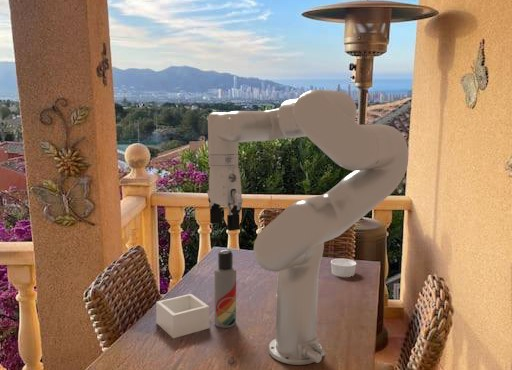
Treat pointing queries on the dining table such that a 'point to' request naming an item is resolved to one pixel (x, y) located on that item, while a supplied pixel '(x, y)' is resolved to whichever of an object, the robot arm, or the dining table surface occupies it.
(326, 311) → the dining table surface
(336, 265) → the ramekin
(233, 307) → the lotion bottle
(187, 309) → the caddy
